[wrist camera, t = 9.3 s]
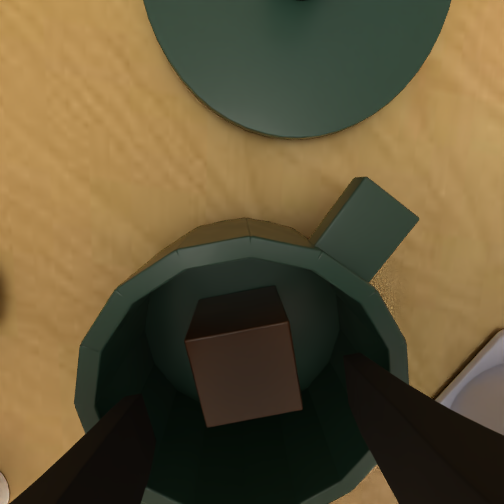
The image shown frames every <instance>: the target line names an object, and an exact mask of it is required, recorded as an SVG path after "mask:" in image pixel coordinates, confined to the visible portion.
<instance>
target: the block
mask: <svg viewBox="0 0 504 504" xmlns="http://www.w3.org/2000/svg"><path fill="white" fill-rule="evenodd" d="M184 343H185V347H186V351H187V355H188V359H189V362H190V366H191V370H192V374H193V378H194V382H195V386H196V389H197V393H198V397H199V401H200V405H201V409H202V413H203V416H204V420H205V424H206V427H207V428H209V427H215V426H220V425H225V424H231V423H236V422H241V421H246V420H252V419H257V418H262V417H268V416H273V415H278V414H283V413H289V412H294V411H299V410H302V409H303V402H302V396H301V390H300V384H299V378H298V371H297V365H296V359H295V353H294V346H293V340H292V334H291V328H290V322H289V319H288V317H287V314H286V311H285V309H284V306H283V304H282V301H281V298H280V296H279V293H278V291H277V288H276V286H270V287H264V288H259V289H254V290H248V291H243V292H237V293H232V294H227V295H221V296H216V297H210V298H205V299H200V300H198V303H197V306H196V309H195V311H194V314H193V317H192V320H191V323H190V326H189V329H188V331H187V334H186V337H185V340H184Z"/></svg>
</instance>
